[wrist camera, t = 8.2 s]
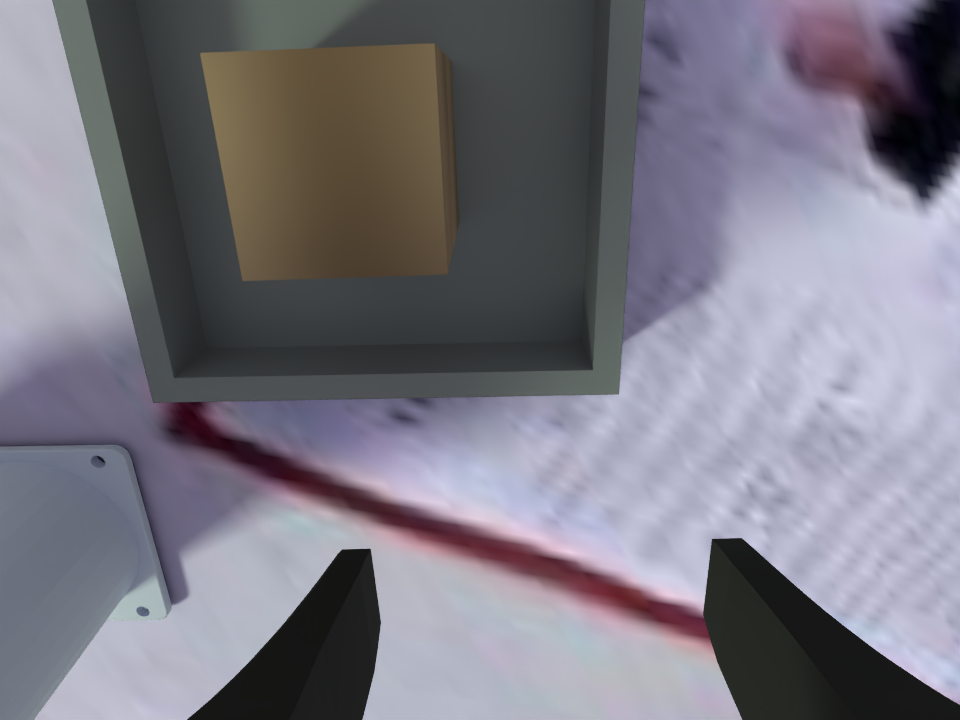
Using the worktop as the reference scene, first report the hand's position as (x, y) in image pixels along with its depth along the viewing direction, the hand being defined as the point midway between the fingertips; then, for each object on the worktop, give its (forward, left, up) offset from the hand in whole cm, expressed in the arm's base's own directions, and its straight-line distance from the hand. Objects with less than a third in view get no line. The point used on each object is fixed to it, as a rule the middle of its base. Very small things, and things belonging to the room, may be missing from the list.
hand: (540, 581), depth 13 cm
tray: (-4, +8, -9) cm, 13 cm away
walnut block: (-4, +8, -9) cm, 13 cm away
